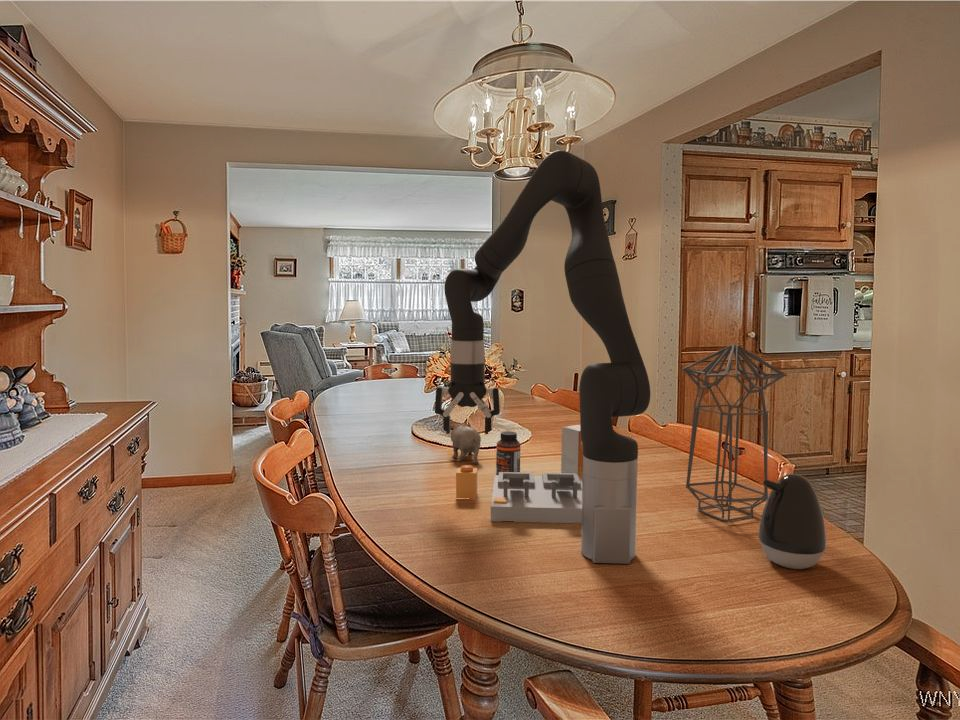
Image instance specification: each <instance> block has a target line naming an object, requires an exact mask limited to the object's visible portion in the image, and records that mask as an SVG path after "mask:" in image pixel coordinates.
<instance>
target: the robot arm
mask: <svg viewBox="0 0 960 720" xmlns="http://www.w3.org/2000/svg"><path fill="white" fill-rule="evenodd" d="M536 167H537V168H536V169H535V171H533V173H532V175H531V176H530V178H529V179H528V180H527V183H526V184H525V185H524V188H523V189H522V190H521V192H520V194H519V195H518V197H517V199H516V200H515V201H514V204H513V205H512V206H511V208H510V209H509V212H508V213H507V214H506V216H505V217H504V219H503V220H502V222H501V223H500V224H499V225H498V226H497V228H496V229H495V230H494V232H492V234H491V235H490V236H489V237H488V238H487V239H486V240H485V241H484V243H483V244H481V246H480V247H479V248H478V250H476V252H475V255H474V262H475V265H476V266H475V267H474V268H472V269H467V268H456V269H453V270H451V271H450V272H449V273H448V274H447V276H446V278H445V281H444V296H445V301H446V304H447V309H448V314H449V317H450V321H451V344H450V354H449V355H450V356H449V361H450V384H449V387H447V386H446V387H445V386H443V387H442V386H441V385H439V386H437V387H436V389H435V400H434V401H435V402H434V413H435V415H438V416H439V415H440V416H442V419H443V420H442V421H443V423H442V424H443V426H442V428H443V431H444V432H445V433H446V434H447V435H451V415H450V414H451V413H452V411H453V410H454V409H455V408H456V406H458V407H460V408H464V407H469V408H475V407H478V409H479V410H480V411H481V412H482V413H483V415H484V435H489V433H490V432H491V431H492V427H493V426H492V418H493V417H494V416H498V415H499V414H500V412H501V411H500V394H499V393H500V390H499V387H498V386H494V387H486V385H485V373H486V372H485V369H486V368H485V365H486V364H485V360H486V358H485V351H486V350H485V342H484V339H485V337H484V336H485V334H484V333H485V331H484V325H485V324H484V317H483V315H481V314H480V313H477V312H475V311H474V308H473V303H475V302H476V303H477V302H481V301H483V300H484V299H486V298H487V297H488V296H490V294H491V293H492V292H493V290H494V289H495V286H496V285H497V283H498V282H499V280H500V278H501V276H502V274H503V272H504V271H505V270H506V269H508V268H509V266H510V265H511V264H512V263H513V262H514V261H515V260H516V259H518V257H519V255H520V254H521V253H522V251H523V249H524V248H525V246H526V244H527V240H528V237H529V234H530V229H531V225H532V224H533V220H534V219H535V217H536V216H537V214H538V213H539V212H540V211H541V210H542V209H543V208H544V207H545V206H547V204H549V203H550V202H554V203H557V204H559V205H561V206H563V207H564V209H565V211H566V214H567V217H568V219H569V225H570V228H571V240H570V242H569V246H568V249H567V251H566V255H565V259H564V264H563V265H564V268H563V269H564V276H565V282H566V285H567V289H568V291H567V292H568V294H569V295H568V296H569V299H570V302H571V303H572V305H573V306H574V308H575V310H576V311H577V313H578V314H579V315H580V317H581V318H582V319H583V320H584V321H585V322H586V324H588V325H589V327H590V328H591V329H592V330H593V331H594V332H595V333H596V335H598V337H599V339H600V341H602V343H603V345H604V347H605V349H606V351H607V355H608V358H609V360H610V362H598V363H590V364H588V365H587V366H586V367H585V368H584V369H583V371H582V373H581V376H580V381H579V389H578V390H579V393H578V394H579V416H580V421H579V423H580V424H579V425H580V429H581V439H582V444H583V481H582V523H581V541H580V542H581V544H580V546H581V547H580V549H581V550H580V552H581V554H582V555H583V556H584V557H585V558H588V559H589V560H591V562H592V563H595V564H625V565H626V564H628V565H629V564H631V561H632V560H633V559H635V557H636V541H637V540H636V535H637V533H636V532H637V499H638V498H637V497H638V496H637V495H638V465H639V464H638V463H639V462H638V461H639V445H638V442H637V440H636V439H634V438H632V437H630V436H627V435H624V434H621V433H618V432H616V431H615V429H614V427H613V426H614V425H613V424H614V423H613V418H620V417H632V416H633V417H634V416H638V415H642V414H643V413H645V412H646V411H647V409H648V407H649V405H650V402H651V386H650V379H649V376H648V373H647V368H646V366H645V363H644V360H643V358H642V354H641V352H640V348H639V346H638V344H637V340H636V337H635V335H634V331H633V329H632V325H631V321H630V320H629V315H628V313H627V308H626V303H625V300H624V296H623V292H622V287H621V281H620V277H619V276H620V275H619V273H618V269H617V268H618V267H617V265H616V261H615V258H614V255H613V252H612V251H613V250H612V246H611V242H610V237H609V233H608V229H607V225H606V222H605V221H606V220H605V214H604V208H603V200H602V192H601V185H600V184H601V183H600V179H599V174H598V172H597V170H596V169H595V167H594V166H593V165H592V164H591V163H590V162H588V161H586V160H584V159H583V158H581V157H579V156H577V155H575V154H573V153H571V152H569V151H567V150H563V149H557V150H554V151H551V152H550V153H549V154H547V155H546V156H545V158H543V160H541V162H540V163H539V165H538V166H536ZM447 393H448V394H449V396H450V398H451V399H452V401H451V402H450V403H449V404H448V406H447V407H446V408H442V406H443V398H445V396H446V394H447ZM486 394H488V395H489V397H490V398H492V401H493V409H490V408H489V407H488V406H487V403H486V402H485V401H484V400H483V398H484V397H485V395H486Z"/></svg>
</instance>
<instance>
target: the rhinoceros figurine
mask: <svg viewBox="0 0 960 720" xmlns="http://www.w3.org/2000/svg"><path fill="white" fill-rule="evenodd" d="M470 425H471V424H470V423H466V425H463V424H460V423H457V425H456V426H454V427H453V429H452V430H451V431H450V439H451V440H450V441H451V442H452V449H453V450H452V451H453V455H452V456H451V458H455V459H456V458H457V459H456V462H458V461H461V462H465V459H466V457H467V455H470V456H471V455H472V456H473V460H472V463H471V464H472V465H480V463H479V460H478V456H479V451H480V449H481V448H480V447H481V446H482V445H481V441H482V438H481V435H480V433H479V432H478V430H477V429H475V428H473V427H471V426H470ZM459 450H460V454H459Z"/></svg>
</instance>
